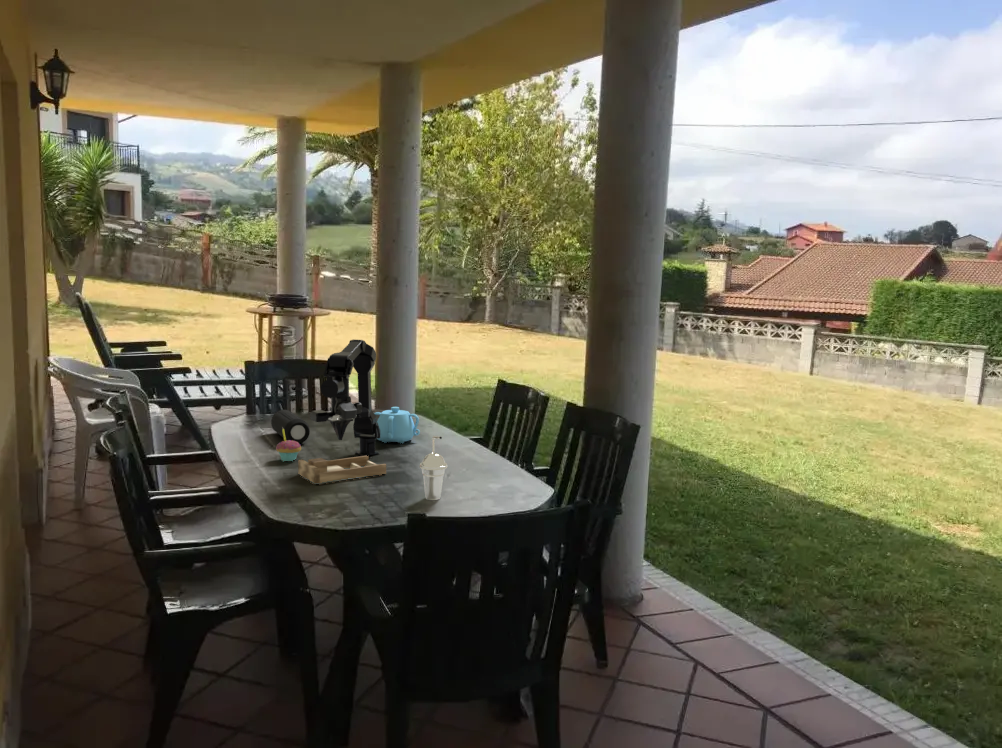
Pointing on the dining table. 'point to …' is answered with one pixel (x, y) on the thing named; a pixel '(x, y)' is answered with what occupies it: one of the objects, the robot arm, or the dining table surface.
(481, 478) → the dining table surface
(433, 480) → the cup with straw
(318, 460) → the walnut block
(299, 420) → the portable speaker
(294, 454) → the cupcake
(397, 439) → the decorative pot
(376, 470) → the board
